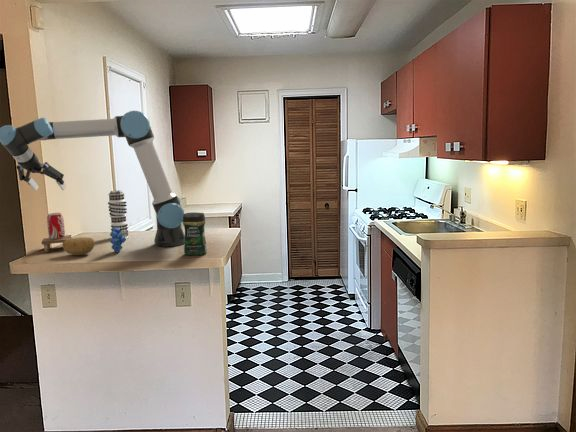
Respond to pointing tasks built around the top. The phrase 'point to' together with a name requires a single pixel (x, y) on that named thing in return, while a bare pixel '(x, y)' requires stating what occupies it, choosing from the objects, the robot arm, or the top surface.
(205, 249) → the coffee jar
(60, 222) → the soda can
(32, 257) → the top surface
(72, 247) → the potato
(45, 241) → the shelf stand
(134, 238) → the top surface
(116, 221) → the decorative candle
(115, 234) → the grapes
